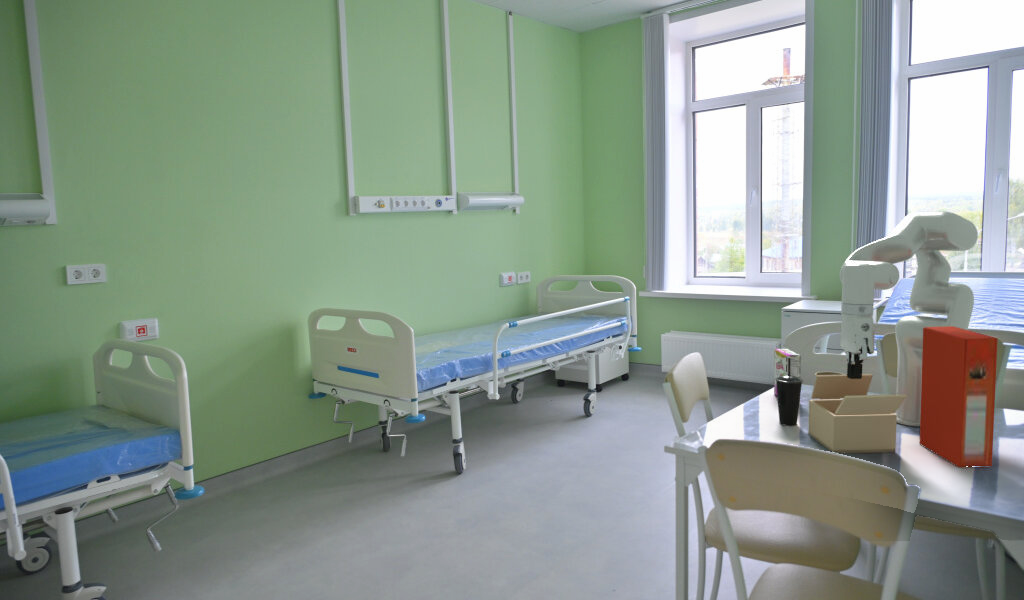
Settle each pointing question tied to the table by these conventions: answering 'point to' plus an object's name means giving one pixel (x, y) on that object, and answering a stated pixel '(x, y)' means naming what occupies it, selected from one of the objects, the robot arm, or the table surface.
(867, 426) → the carton
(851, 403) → the flap
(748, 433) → the table surface
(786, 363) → the candy bar box
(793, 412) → the drinking cup
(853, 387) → the flap
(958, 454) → the file binder
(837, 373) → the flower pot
